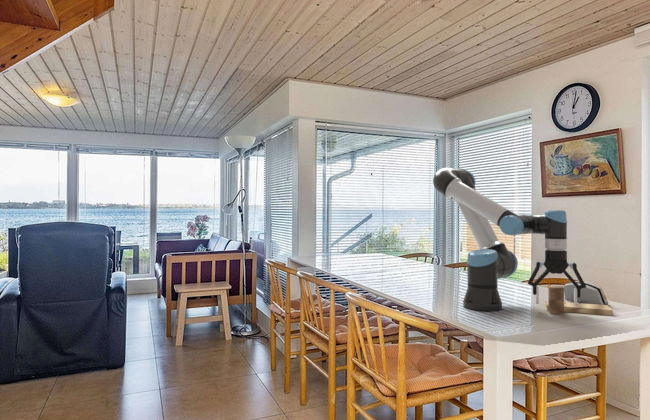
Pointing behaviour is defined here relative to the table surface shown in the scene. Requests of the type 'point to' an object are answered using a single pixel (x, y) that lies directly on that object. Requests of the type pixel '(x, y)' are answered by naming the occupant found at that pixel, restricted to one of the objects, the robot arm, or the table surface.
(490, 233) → the robot arm
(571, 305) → the board
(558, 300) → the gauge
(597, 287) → the grey curved slab
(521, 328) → the table surface
